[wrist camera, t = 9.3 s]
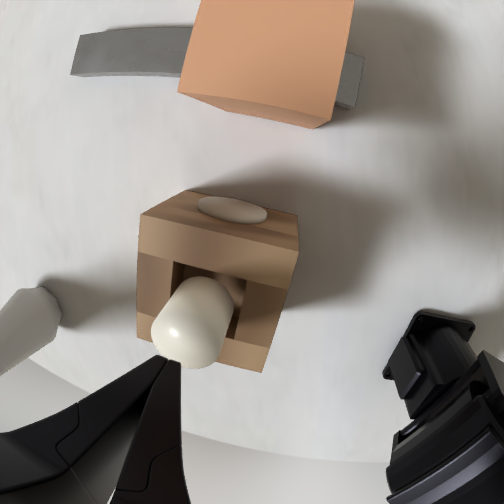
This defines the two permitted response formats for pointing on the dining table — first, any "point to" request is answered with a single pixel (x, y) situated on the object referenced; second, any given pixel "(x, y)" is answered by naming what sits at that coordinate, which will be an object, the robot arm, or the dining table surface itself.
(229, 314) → the plunger
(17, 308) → the salt shaker
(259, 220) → the cabinet
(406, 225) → the dining table surface
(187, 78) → the block
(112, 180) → the dining table surface
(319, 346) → the dining table surface
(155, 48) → the rail
